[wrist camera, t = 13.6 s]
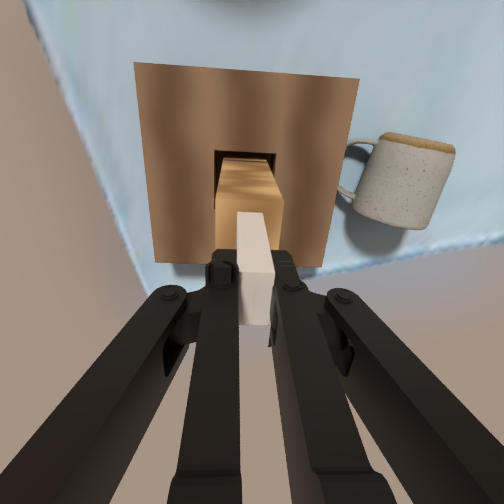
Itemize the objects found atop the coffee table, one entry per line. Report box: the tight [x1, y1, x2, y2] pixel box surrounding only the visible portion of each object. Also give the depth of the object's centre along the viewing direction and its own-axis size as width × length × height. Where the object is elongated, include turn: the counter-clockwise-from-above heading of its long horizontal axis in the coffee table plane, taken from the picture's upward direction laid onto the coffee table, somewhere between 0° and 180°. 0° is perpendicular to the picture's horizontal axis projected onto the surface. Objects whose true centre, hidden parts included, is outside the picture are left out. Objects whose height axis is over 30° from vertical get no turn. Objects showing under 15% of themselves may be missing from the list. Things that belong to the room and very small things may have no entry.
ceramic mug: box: [337, 132, 455, 230], centre depth 30 cm, size 11×8×8 cm
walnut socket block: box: [134, 62, 360, 267], centre depth 30 cm, size 18×18×5 cm
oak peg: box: [215, 152, 284, 250], centre depth 25 cm, size 4×4×15 cm
